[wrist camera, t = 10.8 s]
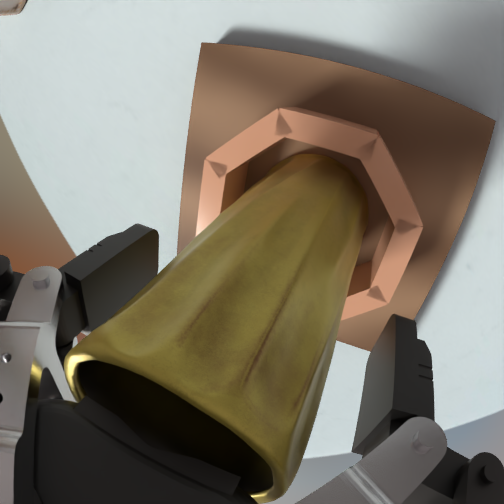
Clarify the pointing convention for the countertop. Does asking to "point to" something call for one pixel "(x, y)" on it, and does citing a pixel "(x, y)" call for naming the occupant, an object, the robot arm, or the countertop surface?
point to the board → (358, 111)
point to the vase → (237, 329)
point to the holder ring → (340, 140)
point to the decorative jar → (11, 7)
